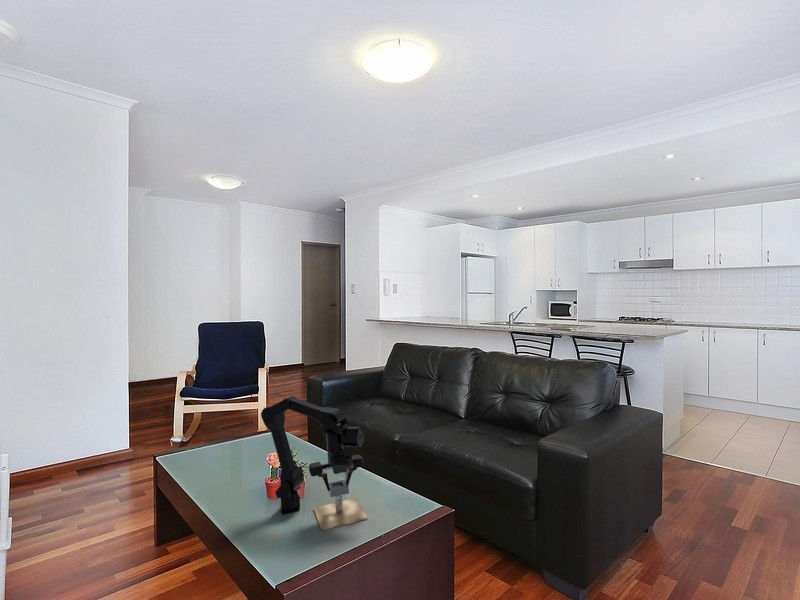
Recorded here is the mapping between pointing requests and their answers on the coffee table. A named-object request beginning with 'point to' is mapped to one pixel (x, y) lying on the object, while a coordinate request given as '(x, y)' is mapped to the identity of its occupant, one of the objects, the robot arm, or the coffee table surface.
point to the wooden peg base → (339, 513)
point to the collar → (338, 488)
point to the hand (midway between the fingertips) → (337, 488)
